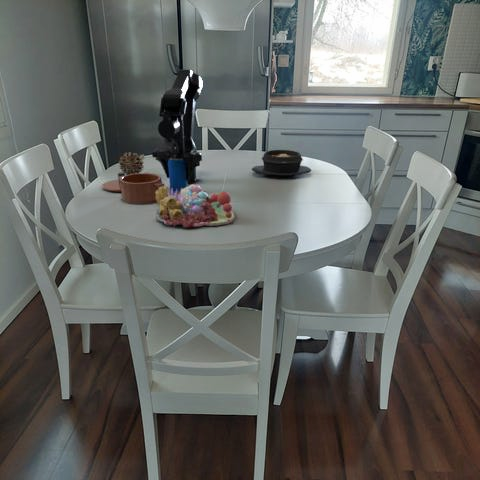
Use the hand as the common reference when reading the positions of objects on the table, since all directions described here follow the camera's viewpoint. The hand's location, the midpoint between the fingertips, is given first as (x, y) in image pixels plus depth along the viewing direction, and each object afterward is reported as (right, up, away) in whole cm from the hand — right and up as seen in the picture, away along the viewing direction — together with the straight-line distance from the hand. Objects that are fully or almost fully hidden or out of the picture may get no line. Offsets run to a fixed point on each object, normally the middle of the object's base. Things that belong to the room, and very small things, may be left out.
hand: (178, 179), depth 165 cm
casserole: (+40, +10, +25) cm, 48 cm away
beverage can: (0, -4, +2) cm, 5 cm away
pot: (-12, -8, -5) cm, 15 cm away
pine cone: (-21, +9, +23) cm, 33 cm away
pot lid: (-22, 0, +6) cm, 23 cm away
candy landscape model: (+8, -18, -21) cm, 29 cm away
